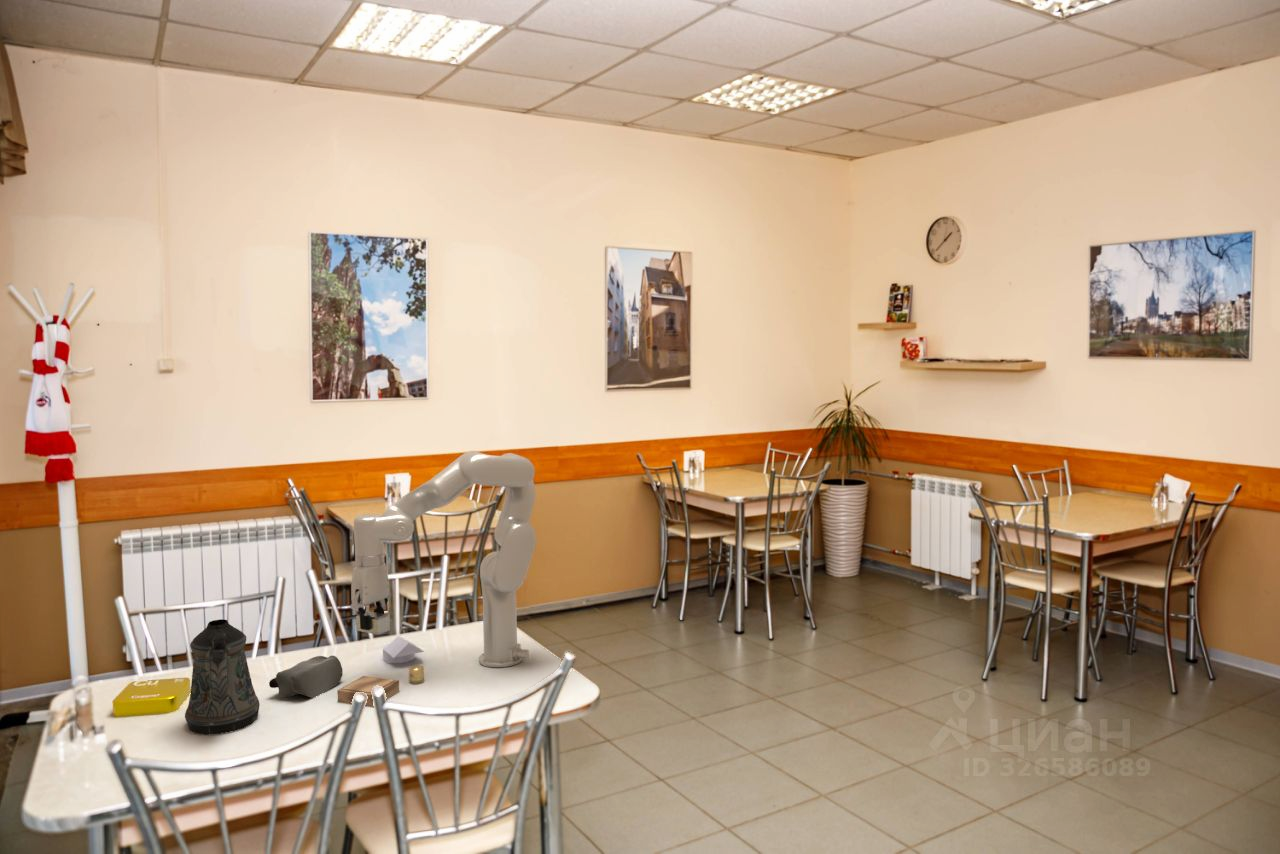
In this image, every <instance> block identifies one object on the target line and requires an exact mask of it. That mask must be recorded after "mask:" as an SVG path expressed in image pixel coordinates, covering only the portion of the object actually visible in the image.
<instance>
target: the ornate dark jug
mask: <svg viewBox="0 0 1280 854" xmlns="http://www.w3.org/2000/svg"><path fill="white" fill-rule="evenodd" d="M246 642H247V636H246V634H245V633H244V632H243V631H241V630H240V629H239V628H236V627H235V626H233V625H232V624H230V623H229V621H228V619H215V620H210V621H208V623H207V626H206V628H204V629H203V630H202V631H201V632H200V633H198V634H197V635H196V636H195V637H194V638H193V639H192V640H191V642H190V645H189V646H190V650H191V652H192V654H193V663H192V673H191V682H190V687H191V694H190V695H189V701H188V704H187V709H186V710H185V713H184V719H185V722H186V723H187V726H188V727H187V728H188V731H189V730H190V731H189V732H191V731H192V733H193V732H194V733H193V734H196V733H197V735H203V734H204V736H207V735H208V736H209V734H210V736H212V735H222V734H221V733H223V734H226V733H225V732H228V733H231V732H230V731H233V732H236V731H238V729H239V730H242V729H244V727H245V728H247V727H248V725H249V726H251V725H252V724H254V723H255V722H256V721H257V720H258V716H259V711H260V706H261V705H260V699H259V697H258V696H257V694H256V692H255V689H254V686H253V682H252V677H251V674H250V669H249V665H248V661H247V660H248V659H247V655H246V652H245V646H246ZM256 719H257V720H256ZM255 720H256V721H255ZM254 721H255V722H254ZM253 722H254V723H253ZM246 726H247V727H246ZM235 730H236V731H235ZM211 734H212V735H211Z"/></svg>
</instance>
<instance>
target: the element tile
mask: <svg viewBox="0 0 1280 854" xmlns="http://www.w3.org/2000/svg"><path fill="white" fill-rule="evenodd" d="M190 693H191V679H190V678H189V677H175V678H164V679H163V678H161V679H150V680H148V679H143V680H142V679H141V680H135V681H131V682H130V683H128V684H127V685H126V686H125V687H124V688H123V689H122V690H121V691H120V692H119V693H118V695H116V696H115V697H114V699H112V712H113V713H112V715H113V717H114V718H126V717H138V716H150V715H152V716H153V715H163V714H165V715H166V714H171V712H172V713H175V712H177V711H178V710H179V709H180V708H181V707H182V706H183V704H184V703H185V702H186V701H187V699H188V698H189V697H190V695H189V694H190ZM187 697H188V698H187ZM184 701H185V702H184ZM183 702H184V703H183ZM181 705H182V706H181ZM180 706H181V707H180ZM176 710H177V711H176ZM174 711H175V712H174Z"/></svg>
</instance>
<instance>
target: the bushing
mask: <svg viewBox="0 0 1280 854" xmlns="http://www.w3.org/2000/svg"><path fill="white" fill-rule="evenodd" d="M424 682H425V666H424V665H422V664H415V665H410V666H409V667H408V683H409V684H410V685H414V686H416V685H420V684H421V685H422V684H423V683H424Z"/></svg>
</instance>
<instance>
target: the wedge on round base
mask: <svg viewBox="0 0 1280 854" xmlns="http://www.w3.org/2000/svg"><path fill="white" fill-rule="evenodd" d="M423 652H424V653H425V650H423V649H422V648H420V647H418V646H417V645H416V644H414V643H413V642H411V641H409V640H407V639H405V638H404V637H402V636H400V635H397V636H396V637H395V638H394V639H393V640H392V641H391V642H390V643H387V644H385V645H384V646H383V647H382V660H383V662H385V663H388V664H389V663H390V664H401V663H407V662H409V661H412V660H414V659H415V657H416V654H419V653H423Z"/></svg>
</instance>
